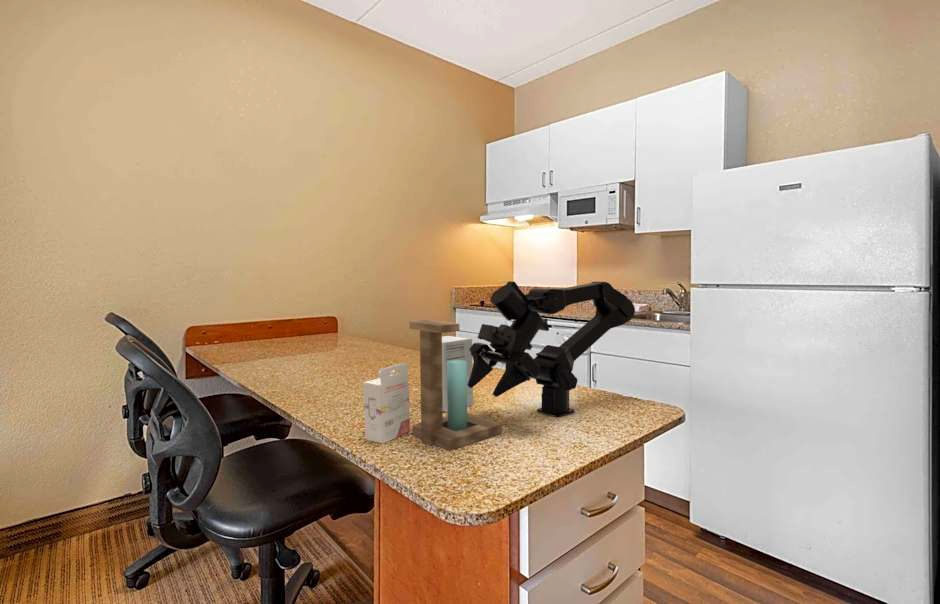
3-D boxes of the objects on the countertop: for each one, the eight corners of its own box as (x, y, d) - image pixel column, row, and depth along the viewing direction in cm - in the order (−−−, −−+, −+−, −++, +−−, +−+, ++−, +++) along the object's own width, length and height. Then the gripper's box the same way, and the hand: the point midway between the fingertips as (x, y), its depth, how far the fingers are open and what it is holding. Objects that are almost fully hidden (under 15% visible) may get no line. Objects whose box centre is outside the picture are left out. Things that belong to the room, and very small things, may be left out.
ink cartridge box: (392, 427, 102) (391, 359, 101) (410, 431, 99) (409, 362, 98) (363, 440, 95) (362, 366, 94) (382, 444, 92) (381, 369, 91)
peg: (465, 430, 100) (464, 359, 99) (468, 436, 96) (468, 363, 95) (446, 431, 99) (445, 360, 98) (449, 438, 95) (448, 364, 94)
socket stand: (464, 420, 107) (463, 316, 105) (502, 433, 98) (502, 320, 96) (408, 435, 97) (406, 321, 95) (445, 452, 88) (444, 325, 86)
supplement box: (474, 405, 119) (473, 338, 118) (445, 413, 112) (445, 342, 111) (449, 398, 126) (448, 334, 125) (421, 405, 119) (420, 338, 118)
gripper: (475, 307, 110) (434, 361, 105) (528, 313, 94) (484, 376, 89) (503, 337, 115) (466, 390, 110) (557, 347, 99) (517, 409, 94)
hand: (481, 391), depth 100 cm, fingers open, 9 cm apart
